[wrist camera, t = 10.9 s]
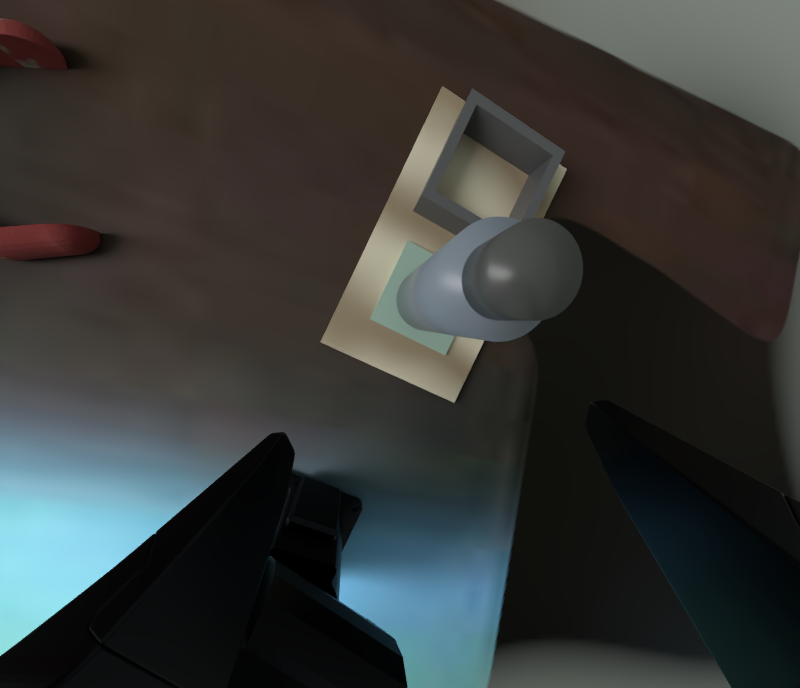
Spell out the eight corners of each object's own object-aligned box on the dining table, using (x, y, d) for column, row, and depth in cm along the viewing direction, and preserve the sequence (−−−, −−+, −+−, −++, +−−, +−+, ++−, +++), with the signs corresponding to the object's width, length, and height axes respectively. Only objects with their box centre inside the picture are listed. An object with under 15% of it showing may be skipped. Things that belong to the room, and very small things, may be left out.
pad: (443, 355, 20) (445, 355, 20) (369, 319, 19) (370, 319, 19) (479, 281, 20) (481, 280, 20) (406, 241, 19) (407, 240, 19)
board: (452, 401, 21) (454, 403, 21) (321, 341, 19) (320, 342, 19) (562, 172, 21) (567, 169, 20) (440, 90, 19) (442, 86, 19)
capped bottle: (439, 340, 20) (565, 372, 8) (386, 314, 19) (436, 305, 7) (465, 287, 20) (630, 237, 8) (413, 258, 19) (507, 157, 7)
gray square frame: (497, 259, 20) (517, 251, 18) (412, 211, 19) (421, 195, 17) (539, 172, 20) (565, 151, 18) (457, 118, 19) (472, 88, 17)
